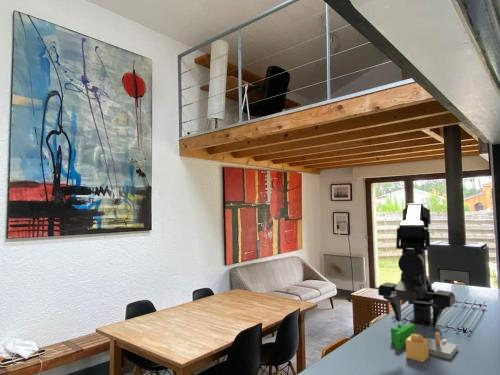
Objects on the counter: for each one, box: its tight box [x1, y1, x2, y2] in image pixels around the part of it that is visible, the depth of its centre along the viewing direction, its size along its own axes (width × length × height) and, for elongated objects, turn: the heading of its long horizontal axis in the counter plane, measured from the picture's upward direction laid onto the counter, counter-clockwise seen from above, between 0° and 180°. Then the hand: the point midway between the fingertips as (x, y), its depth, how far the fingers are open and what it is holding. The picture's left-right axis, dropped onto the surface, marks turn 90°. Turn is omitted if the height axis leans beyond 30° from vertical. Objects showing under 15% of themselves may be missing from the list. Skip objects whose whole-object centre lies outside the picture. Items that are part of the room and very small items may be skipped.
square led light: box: [405, 333, 430, 363], centre depth 94 cm, size 4×4×6 cm
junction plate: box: [426, 331, 459, 360], centre depth 98 cm, size 9×8×5 cm
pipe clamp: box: [390, 323, 416, 350], centre depth 105 cm, size 11×4×5 cm, turn 132°
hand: (416, 325), depth 95 cm, fingers open, 9 cm apart
